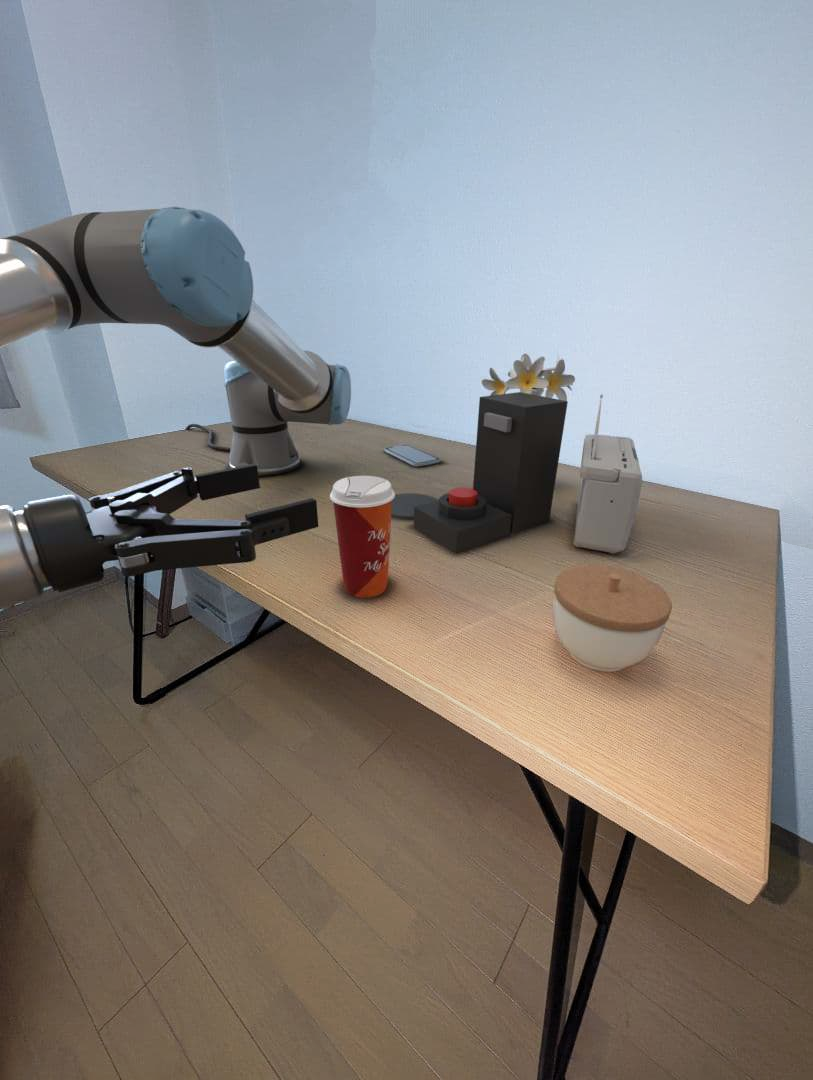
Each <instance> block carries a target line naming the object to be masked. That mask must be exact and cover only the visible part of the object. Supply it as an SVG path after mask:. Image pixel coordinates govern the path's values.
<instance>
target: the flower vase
mask: <svg viewBox="0 0 813 1080" xmlns="http://www.w3.org/2000/svg"><path fill="white" fill-rule="evenodd" d="M545 360H546V357H545V356H540V357H538V358H537V359H535V361H533V363H532V360H531V357H530V355H529V354H528V353H523V354H522V355H521V356H520V359H516V360H514V361H513V365H512V367H511V368H510V370H509V371H508V373H507V376H508V377H509V379H508V380H506V381H504V380H502V379H501V378H500V377H499V375H498V374H497V373H496V371H495V369H494V368H493V367H490V368H489V372H488V373H489V376H490V378H491V379H489V378H483V379H482V380H481V384H482V386H483V387H484V389H486V390H487V391H492V392H491V393H490V395H489V396H492V395H500V394H507V393H506V392H508V391H509V390H516V389H519V392H522V393H527V394H532V395H538V396H543V394H544V392H545V394H544V397H548V398H553V397H554V395H555V396H556V398H557V399H559V400H564V401H568V395H567V392H566V390H565V389H564V388H567V389H569V391H571V392H572V391H573V388H572V387H571V386H574V383H575V381H576V377H575V376H574V375H573V374H565V371H566V363H565V359H564V358H563V357H562V358H560V355H559V353H558V352H557V354H556V363H555V367H548V368H545V369H544V363H545ZM545 388H546V389H545Z"/></svg>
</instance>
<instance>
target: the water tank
mask: <svg viewBox="0 0 813 1080" xmlns="http://www.w3.org/2000/svg"><path fill="white" fill-rule="evenodd" d="M568 403H569V402H568V400H567V401H564V400H559V399H558V398H553V397H552V398H548V397H545V396H543V395H541V396H538V395H532V394H527V393H522V392H520V391H517V392H510V393H509V392H507V393H505V394H500V395H492V396H490V395H485V396H479V402H478V416H477V427H476V442H475V443H476V444H475V456H474V468H473V482H472V489H473V490H475V491H477V495H479V496H482V497H484V498H485V500H486V502H487V504H489V505H491V506H494V507H496V508H498V509H500V510H502V511H504V512H507V513H509V514H511V515H512V517H511V525H510V534H514V533H517V532H520V531H523V530H526V529H529V528H532V527H535V526H538V525H541V524H544V523H547V522H550V519H551V513H552V505H553V498H554V493H555V485H556V480H557V473H558V467H559V462H560V461H559V460H560V454H561V448H562V441H563V436H564V428H565V424H566V423H565V422H566V416H567V409H568Z"/></svg>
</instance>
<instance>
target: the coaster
mask: <svg viewBox="0 0 813 1080" xmlns="http://www.w3.org/2000/svg"><path fill="white" fill-rule="evenodd" d="M436 501H439V499H437V498H435V497H433V496H430V495H427V494H421V493H400V494H399V493H398V494H395V497H394V499H393V500H392V512H391V518H396V519H399V520H400V519H401V520H414V507H416V506H420V505H424V504H428V503H432V502H436Z"/></svg>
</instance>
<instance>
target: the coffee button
mask: <svg viewBox="0 0 813 1080" xmlns="http://www.w3.org/2000/svg"><path fill="white" fill-rule="evenodd" d="M448 493H449V503H450V504H452V505H457V506H472V505H476V504H477V491H475V490H473V488H470V487H453V488H451V489H450V490H449V492H448Z"/></svg>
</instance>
